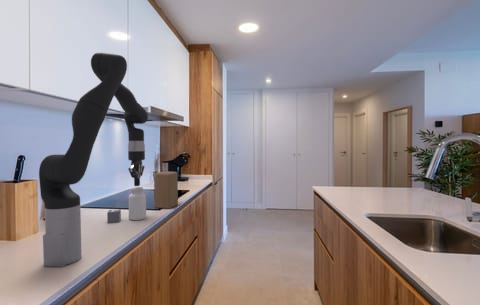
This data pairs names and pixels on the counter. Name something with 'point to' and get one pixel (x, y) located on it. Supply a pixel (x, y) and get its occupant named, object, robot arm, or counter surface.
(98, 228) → the counter surface
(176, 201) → the wooden block
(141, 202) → the pill bottle
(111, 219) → the number cube
